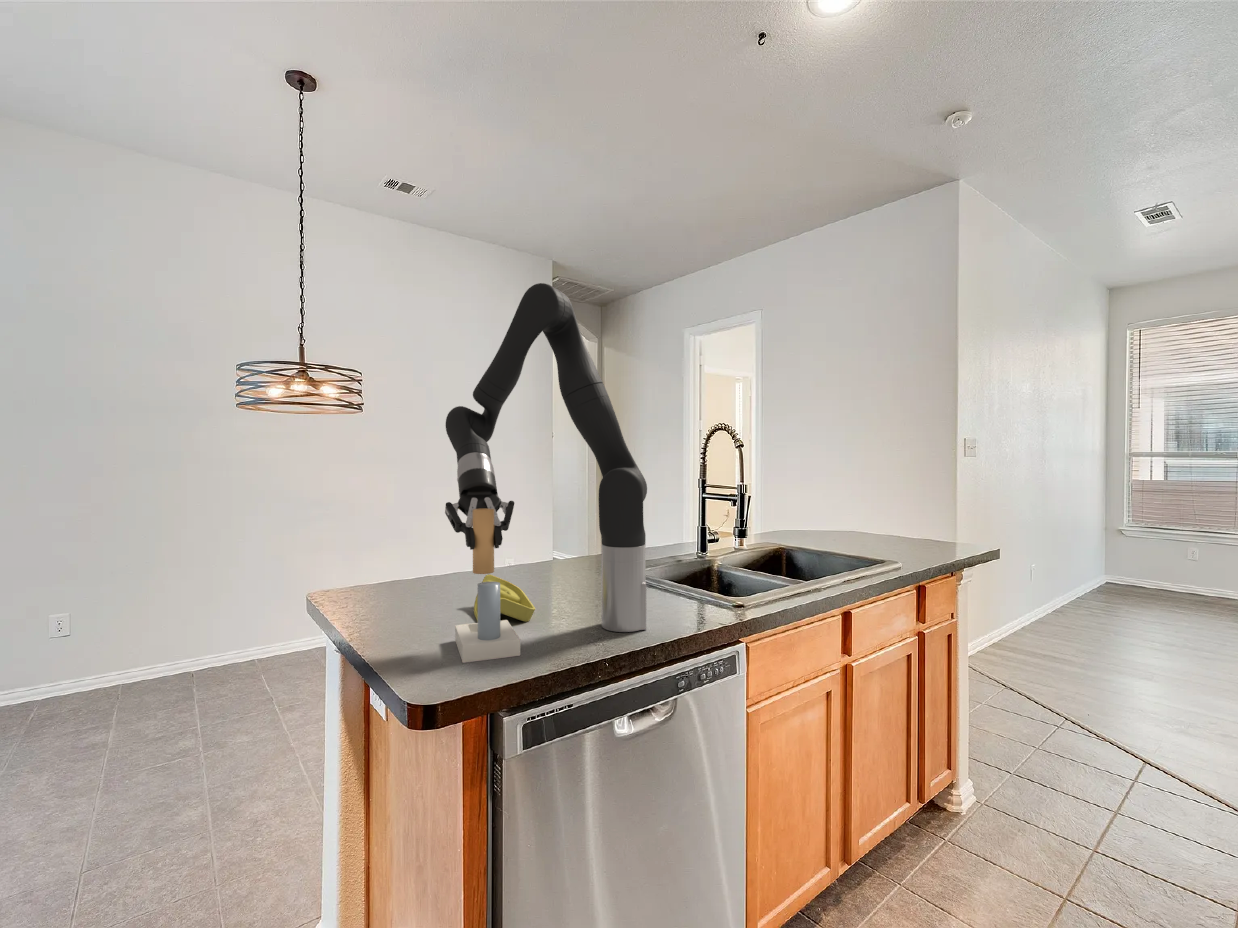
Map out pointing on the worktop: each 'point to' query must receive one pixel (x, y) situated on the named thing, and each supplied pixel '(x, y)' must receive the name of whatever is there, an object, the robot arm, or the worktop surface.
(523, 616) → the plastic component
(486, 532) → the tan round-top capsule
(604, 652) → the worktop surface
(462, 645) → the housing
